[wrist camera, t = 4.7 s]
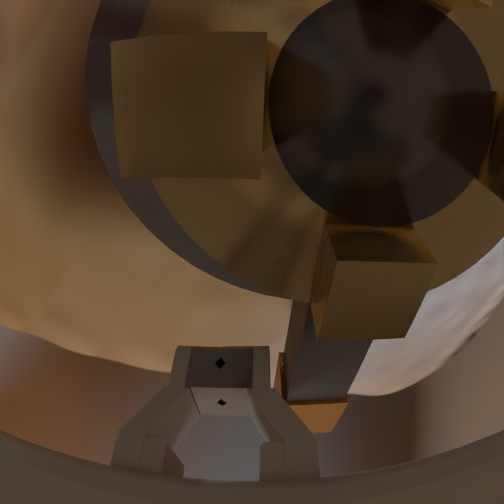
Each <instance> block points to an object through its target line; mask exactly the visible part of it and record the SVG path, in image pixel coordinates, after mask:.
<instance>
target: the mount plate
mask: <svg viewBox="0 0 504 504" xmlns="http://www.w3.org/2000/svg"><path fill="white" fill-rule="evenodd" d="M150 1H151V0H102V1H101V4H100V6H99V9H98V12H97V15H96V18H95V21H94V24H93V27H92V31H91V35H90V41H89V47H88V53H87V60H86V98H87V105H88V112H89V118H90V124H91V128H92V131H93V135H94V138H95V141H96V144H97V148H98V151H99V154H100V156H101V158H102V161H103V163H104V165H105V167H106V169H107V171H108V173H109V175H110V178H111V180H112V182H113V183H114V185H115V186H116V188H117V189H118V191H119V193H120V194H121V196H122V197H123V199H124V200H125V202H126V203H127V205H128V206H129V208H130V209H131V210H132V211H133V212H134V213H135V215H136V216H137V217H138V218H139V219H140V221H141V222H142V223H143V224H144V225H145V226H146V228H147V229H148V230H149V231H151V232H152V233H153V234H154V235H155V236H156V237H157V238H158V239H159V240H160V241H161V242H162V243H164V244H165V245H166V246H167V247H168V248H169V249H171V250H172V251H174V252H175V253H176V254H178V255H179V256H180V257H182V258H183V259H185V260H186V261H187V262H189V263H190V264H192V265H194V266H195V267H197V268H199V269H201V270H203V271H204V272H206V273H208V274H210V275H212V276H214V277H216V278H218V279H220V280H223V281H225V282H228V283H230V284H232V285H235V286H237V287H240V288H243V289H247V290H250V291H253V292H257V293H260V294H264V295H269V296H275V297H280V298H286V297H282V296H279V295H276V294H274V293H271V292H269V291H267V290H264V289H262V288H259V287H257V286H255V285H253V284H251V283H249V282H248V281H246V280H244V279H242V278H240V277H239V276H237V275H235V274H233V273H232V272H230V271H229V270H228V269H226V268H225V267H223V266H222V265H221V264H219V263H218V262H217V261H215V260H214V259H212V258H211V257H210V256H209V255H208V254H207V253H206V252H205V251H204V250H202V249H201V248H200V247H199V246H198V245H197V244H196V243H195V242H194V241H193V240H192V239H191V238H190V237H189V236H188V235H187V233H186V232H185V231H184V230H183V229H182V227H181V226H180V225H179V224H178V222H177V221H176V220H175V219H174V218H173V216H172V215H171V213H170V212H169V210H168V209H167V207H166V205H165V204H164V202H163V201H162V199H161V197H160V196H159V194H158V192H157V191H156V189H155V186H154V184H153V182H152V180H151V178H144V179H121V177H120V169H119V161H118V153H117V144H116V134H115V123H114V111H113V97H112V78H111V42H115V41H121V40H127V39H133V38H137V37H138V33H139V30H140V27H141V24H142V22H143V19H144V16H145V14H146V11H147V8H148V6H149V3H150ZM286 299H289V298H286Z"/></svg>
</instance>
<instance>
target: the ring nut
mask: <svg viewBox="0 0 504 504" xmlns="http://www.w3.org/2000/svg"><path fill="white" fill-rule="evenodd" d="M111 78H112V97H113V111H114V123H115V134H116V144H117V153H118V161H119V169H120V177H121V179H144V178H151V180H152V182H153V184H154V186H155V189H156V191H157V192H158V194H159V196H160V197H161V199H162V201H163V202H164V204H165V205H166V207H167V209H168V210H169V212H170V213H171V215H172V216H173V218H174V219H175V220H176V221H177V222H178V224H179V225H180V226H181V227H182V229H183V230H184V231H185V232H186V233H187V235H188V236H189V237H190V238H191V239H192V240H193V241H194V242H195V243H196V244H197V245H198V246H199V247H200V248H201V249H202V250H204V251H205V252H206V253H207V254H208V255H209V256H210V257H211V258H212V259H214V260H215V261H217V262H218V263H219V264H221V265H222V266H223V267H225V268H226V269H228V270H229V271H230V272H232V273H233V274H235V275H237V276H239V277H240V278H242V279H244V280H246V281H248V282H249V283H251V284H253V285H255V286H257V287H259V288H262V289H264V290H267V291H269V292H271V293H274V294H276V295H279V296H282V297H286V298H289V299H293V302H292V308H291V315H290V321H289V326H288V332H287V338H286V344H285V349H284V353H280V352H279V357H278V363H277V369H276V375H275V381H274V386H273V388H275V389H276V390H277V391H278V393H279V394H280V395H281V396H282V398H283V399H284V400H285V401H286V402H287V404H288V405H289V406H290V407H291V409H292V410H293V411H294V412H295V413H296V415H297V416H298V417H299V418H300V419H301V421H302V422H303V423H304V424H305V425H306V427H307V428H308V429H309V430H310V431H311V433H321V432H322V433H323V432H331V431H332V430H333V428H334V426H335V425H336V423H337V421H338V420H339V418H340V416H341V415H342V413H343V411H344V410H345V408H346V406H347V404H348V398H347V392H348V390H349V388H350V386H351V384H352V382H353V380H354V378H355V376H356V374H357V372H358V370H359V368H360V366H361V364H362V362H363V360H364V358H365V356H366V354H367V351H368V349H369V347H370V345H371V343H372V340H375V339H393V338H405V336H406V334H407V332H408V330H409V328H410V326H411V324H412V322H413V320H414V318H415V316H416V314H417V312H418V310H419V308H420V305H421V303H422V301H423V299H424V297H425V295H426V292H427V291H429V290H432V289H434V288H437V287H438V286H440V285H442V284H444V283H446V282H448V281H450V280H452V279H453V278H455V277H457V276H458V275H460V274H461V273H463V272H464V271H466V270H467V269H469V268H470V267H471V266H473V265H474V264H475V263H477V262H478V261H479V260H480V259H481V258H482V257H484V256H485V255H486V254H487V253H488V252H489V251H490V250H491V249H492V248H493V247H494V246H495V245H496V244H497V243H498V242H499V241H500V240H501V239H502V238H503V237H504V0H151V1H150V3H149V6H148V8H147V11H146V14H145V16H144V19H143V22H142V24H141V27H140V30H139V33H138V37H137V38H133V39H127V40H121V41H115V42H111Z"/></svg>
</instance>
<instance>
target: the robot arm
mask: <svg viewBox="0 0 504 504" xmlns="http://www.w3.org/2000/svg"><path fill="white" fill-rule="evenodd" d="M200 415H238V416H250V417H251V418H252V420H253V422H254V423H255V425H256V426H257V428H258V429H259V431H260V432H261V434H262V435H263V437H264V438H265V440H266V441H267V442H264V443H263V444H262V445H261V446H260V480H259V481H226V480H208V479H195V478H184V477H183V474H184V465H183V463H182V462H181V461H180V459H179V458H178V457H177V456H176V454H175V453H174V452H173V450H174V449H175V448H176V447H177V446H178V444H179V443H180V442H181V440H182V439H183V438H184V437H185V435H186V434H187V433H188V432H189V430H190V429H191V428H192V426H193V425H194V424H195V423H196V421H197V420H198V419H199V417H200ZM0 504H504V430H503V431H500V432H498V433H495V434H493V435H491V436H488V437H486V438H483V439H480V440H478V441H475V442H473V443H470V444H467V445H464V446H462V447H459V448H455V449H452V450H450V451H446V452H443V453H440V454H437V455H433V456H430V457H426V458H423V459H419V460H415V461H411V462H407V463H403V464H399V465H394V466H390V467H385V468H380V469H375V470H370V471H364V472H358V473H351V474H345V475H338V476H329V477H320V469H319V458H318V448H317V439H316V437H315V436H314V435H313V434H312V433H311V431H310V430H309V429H308V428H307V427H306V425H305V424H304V423H303V422H302V421H301V419H300V418H299V417H298V416H297V415H296V413H295V412H294V411H293V410H292V409H291V407H290V406H289V405H288V404H287V402H286V401H285V400H284V399H283V398H282V396H281V395H280V394H279V393H278V391H277V390H276V389H275V388H270V353H269V346H228V347H201V346H178V347H177V349H176V351H175V356H174V360H173V365H172V370H171V374H170V379H169V384H168V387H167V386H164V387H163V388H162V389H161V390H160V391H159V392H158V393H156V395H154V397H152V398H151V399H150V400H149V401H148V402H147V403H146V404H145V405H144V406H143V407H142V408H141V409H140V410H139V411H138V412H137V413H136V414H135V415H134V416H133V417H132V418H131V419H130V420H129V421H128V422H127V423H126V424H125V425H124V426H122V427H121V428H120V430H119V431H118V434H117V438H116V442H115V447H114V451H113V455H112V459H111V463H110V465H106V464H101V463H97V462H93V461H89V460H86V459H82V458H78V457H75V456H71V455H68V454H65V453H61V452H58V451H55V450H52V449H49V448H46V447H43V446H40V445H38V444H35V443H32V442H29V441H26V440H24V439H22V438H19V437H17V436H14V435H12V434H9V433H6V432H4V431H2V430H0Z"/></svg>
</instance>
